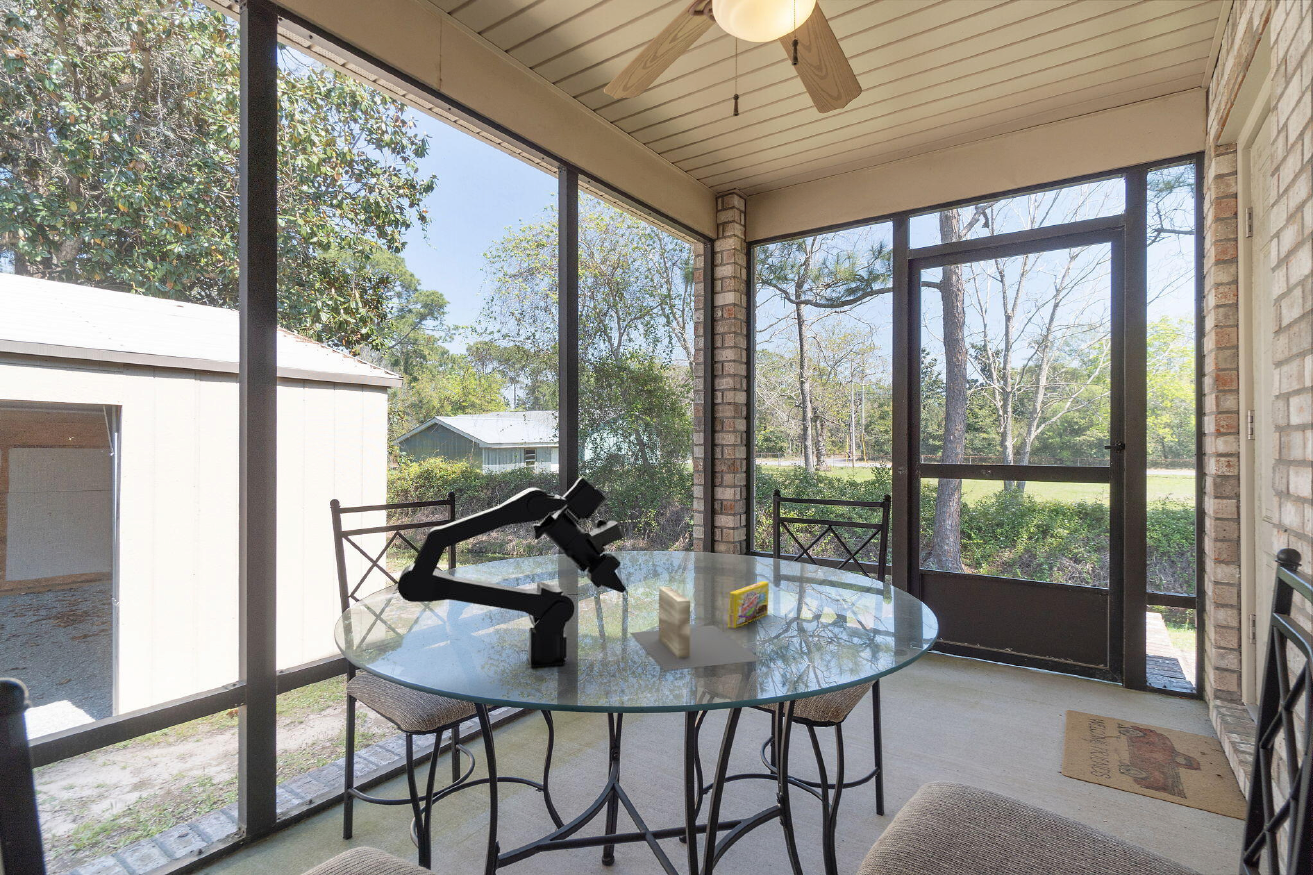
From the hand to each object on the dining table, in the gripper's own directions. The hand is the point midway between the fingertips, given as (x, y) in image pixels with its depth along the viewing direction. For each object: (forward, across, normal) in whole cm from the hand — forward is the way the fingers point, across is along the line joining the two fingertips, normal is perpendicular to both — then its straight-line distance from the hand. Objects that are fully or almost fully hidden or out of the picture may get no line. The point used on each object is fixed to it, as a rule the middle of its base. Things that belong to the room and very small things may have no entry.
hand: (624, 590), depth 128 cm
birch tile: (+16, 0, +1) cm, 16 cm away
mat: (+19, 0, -2) cm, 19 cm away
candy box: (+34, +14, -15) cm, 39 cm away
